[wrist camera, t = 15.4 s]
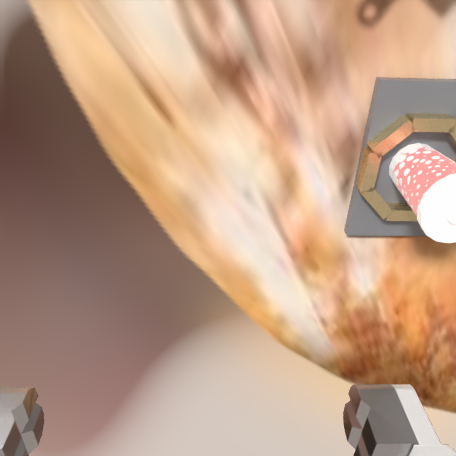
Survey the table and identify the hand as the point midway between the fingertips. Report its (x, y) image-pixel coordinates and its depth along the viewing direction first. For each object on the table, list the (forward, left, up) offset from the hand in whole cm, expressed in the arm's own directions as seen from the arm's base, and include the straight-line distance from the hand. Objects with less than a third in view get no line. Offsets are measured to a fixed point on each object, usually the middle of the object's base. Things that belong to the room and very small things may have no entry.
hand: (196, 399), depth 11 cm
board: (+6, +20, -31) cm, 37 cm away
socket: (+6, +20, -30) cm, 36 cm away
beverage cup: (+6, +20, -30) cm, 37 cm away
